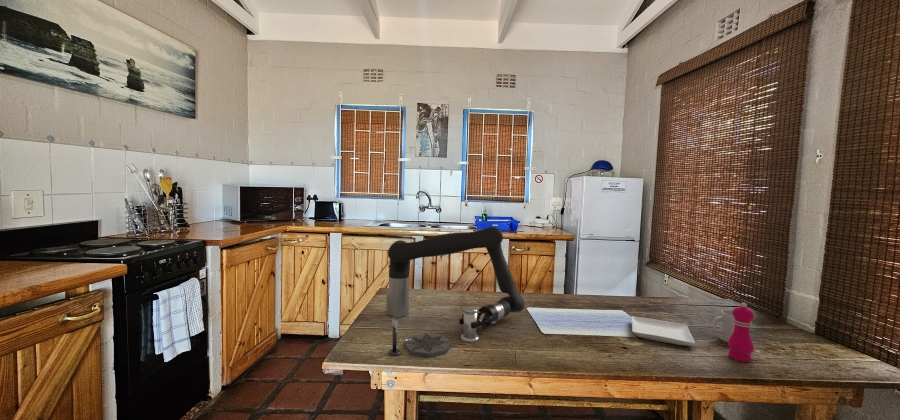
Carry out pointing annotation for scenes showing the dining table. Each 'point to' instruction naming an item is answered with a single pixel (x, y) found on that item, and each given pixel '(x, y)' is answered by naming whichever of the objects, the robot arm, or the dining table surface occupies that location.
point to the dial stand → (395, 339)
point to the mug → (725, 325)
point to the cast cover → (469, 324)
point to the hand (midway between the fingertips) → (466, 323)
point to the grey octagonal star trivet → (427, 345)
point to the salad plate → (662, 331)
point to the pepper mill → (741, 334)
